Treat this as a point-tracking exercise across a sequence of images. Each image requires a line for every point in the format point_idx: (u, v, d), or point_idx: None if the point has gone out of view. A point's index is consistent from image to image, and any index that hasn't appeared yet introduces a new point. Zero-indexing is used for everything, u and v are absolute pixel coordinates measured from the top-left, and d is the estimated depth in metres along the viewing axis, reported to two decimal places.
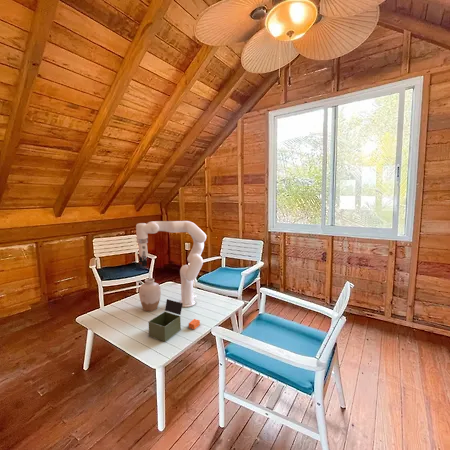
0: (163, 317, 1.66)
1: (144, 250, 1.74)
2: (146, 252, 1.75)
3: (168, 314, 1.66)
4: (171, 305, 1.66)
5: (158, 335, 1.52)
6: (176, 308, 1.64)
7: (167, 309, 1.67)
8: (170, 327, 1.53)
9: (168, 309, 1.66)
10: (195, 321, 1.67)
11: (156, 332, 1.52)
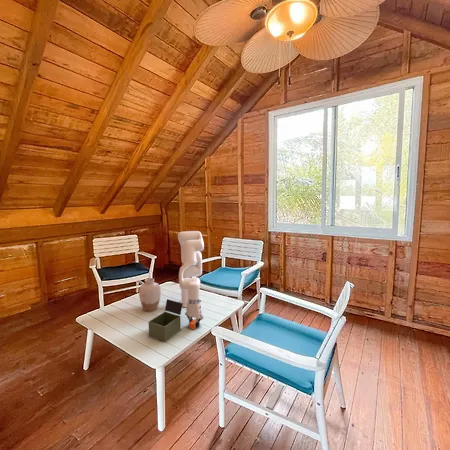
0: (163, 317, 1.66)
1: (200, 310, 1.63)
2: (201, 311, 1.65)
3: (168, 314, 1.66)
4: (171, 305, 1.66)
5: (158, 335, 1.52)
6: (176, 308, 1.64)
7: (167, 309, 1.67)
8: (170, 327, 1.53)
9: (168, 309, 1.66)
10: (195, 321, 1.67)
11: (156, 332, 1.52)
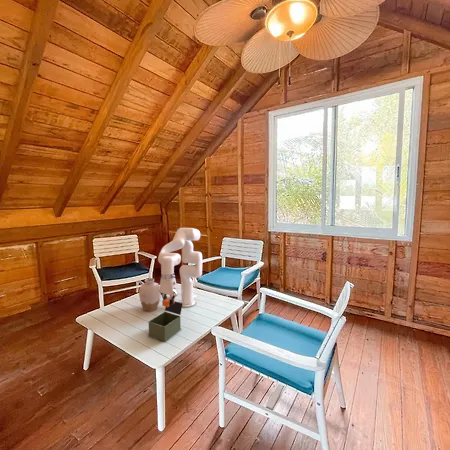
0: (163, 317, 1.66)
1: (174, 286, 1.53)
2: (176, 288, 1.54)
3: (168, 314, 1.66)
4: None
5: (158, 335, 1.52)
6: (176, 308, 1.64)
7: (167, 309, 1.67)
8: (170, 327, 1.53)
9: (168, 309, 1.66)
10: (169, 299, 1.57)
11: (156, 332, 1.52)
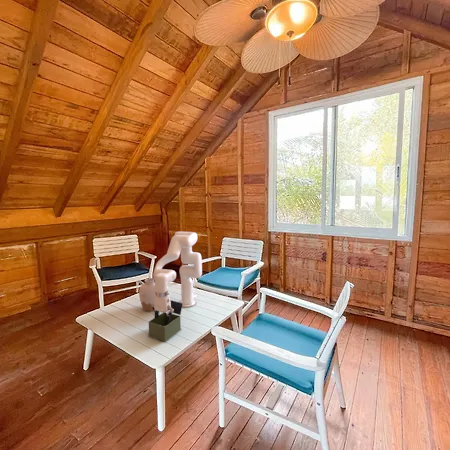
0: (163, 317, 1.66)
1: (168, 304, 1.53)
2: (170, 305, 1.54)
3: None
4: (171, 305, 1.66)
5: (158, 335, 1.52)
6: (176, 308, 1.64)
7: None
8: (170, 327, 1.53)
9: None
10: None
11: (156, 332, 1.52)
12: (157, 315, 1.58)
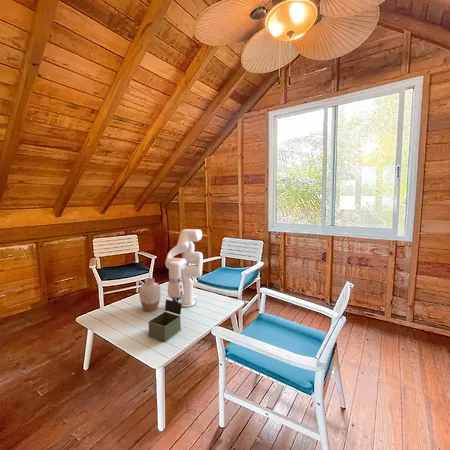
0: (163, 317, 1.66)
1: (181, 289, 1.63)
2: (182, 291, 1.65)
3: (168, 314, 1.66)
4: (170, 305, 1.65)
5: (158, 335, 1.52)
6: (176, 308, 1.63)
7: (167, 309, 1.66)
8: (170, 327, 1.53)
9: (168, 309, 1.66)
10: None
11: (156, 332, 1.52)
12: None
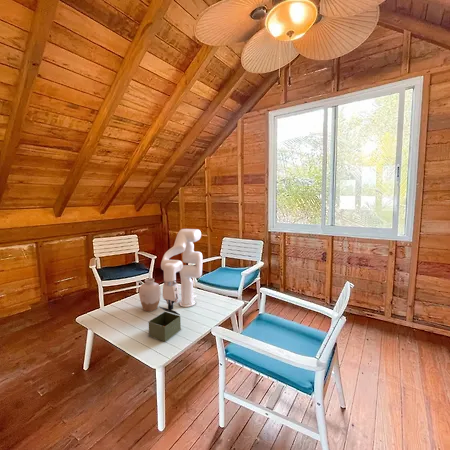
0: (163, 317, 1.66)
1: (176, 292, 1.59)
2: (178, 294, 1.60)
3: (168, 314, 1.66)
4: (166, 310, 1.62)
5: (158, 335, 1.52)
6: (173, 312, 1.61)
7: (166, 310, 1.66)
8: (170, 327, 1.53)
9: (167, 311, 1.65)
10: None
11: (156, 332, 1.52)
12: None
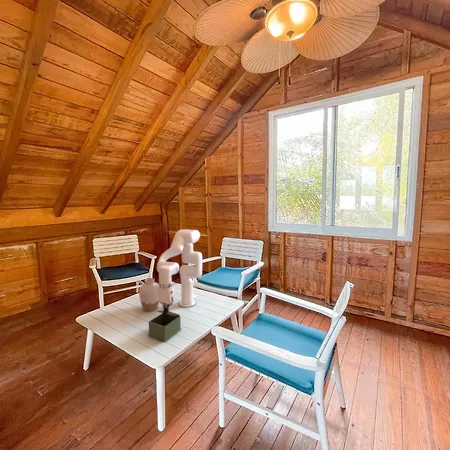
0: (163, 317, 1.66)
1: (172, 295, 1.55)
2: (173, 297, 1.56)
3: None
4: None
5: (158, 335, 1.52)
6: None
7: None
8: (170, 327, 1.53)
9: None
10: None
11: (156, 332, 1.52)
12: None
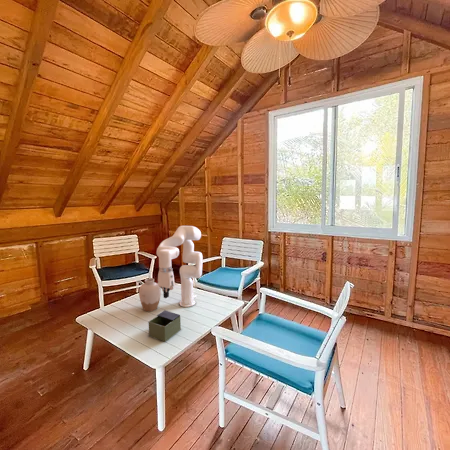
0: None
1: (172, 279, 1.54)
2: (173, 281, 1.55)
3: None
4: None
5: (158, 335, 1.52)
6: None
7: None
8: (170, 327, 1.53)
9: None
10: None
11: (156, 332, 1.52)
12: None
